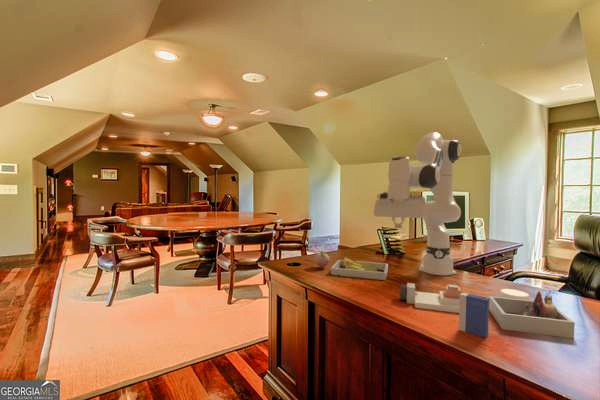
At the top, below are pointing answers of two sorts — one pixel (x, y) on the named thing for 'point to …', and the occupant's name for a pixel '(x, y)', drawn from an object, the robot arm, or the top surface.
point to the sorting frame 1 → (359, 273)
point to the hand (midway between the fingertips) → (398, 227)
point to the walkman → (474, 314)
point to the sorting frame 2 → (528, 318)
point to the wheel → (404, 292)
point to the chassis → (431, 300)
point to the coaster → (514, 294)
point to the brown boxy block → (452, 291)
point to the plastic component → (357, 265)
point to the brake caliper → (541, 308)
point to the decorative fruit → (322, 259)
